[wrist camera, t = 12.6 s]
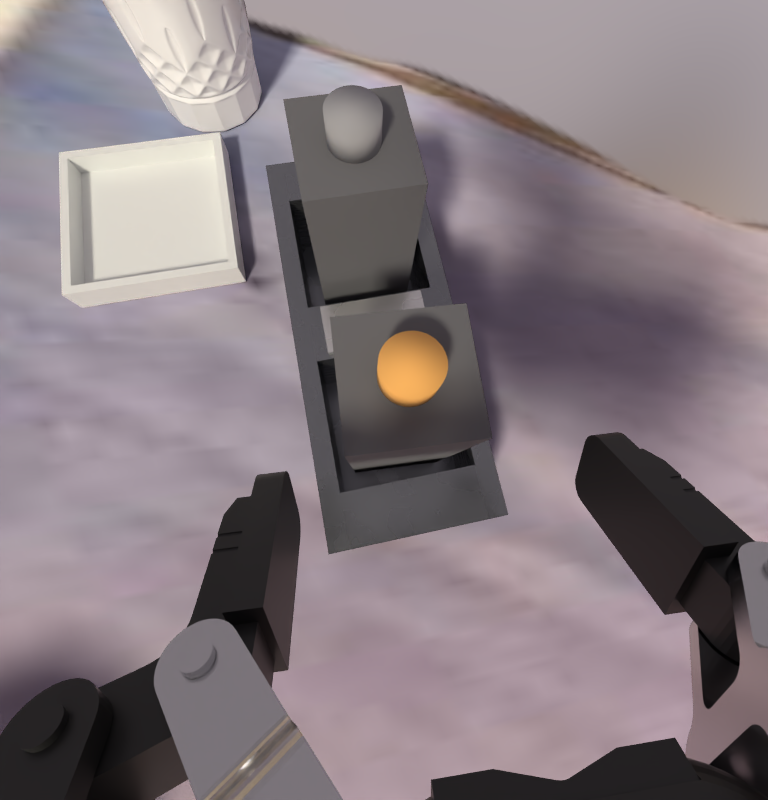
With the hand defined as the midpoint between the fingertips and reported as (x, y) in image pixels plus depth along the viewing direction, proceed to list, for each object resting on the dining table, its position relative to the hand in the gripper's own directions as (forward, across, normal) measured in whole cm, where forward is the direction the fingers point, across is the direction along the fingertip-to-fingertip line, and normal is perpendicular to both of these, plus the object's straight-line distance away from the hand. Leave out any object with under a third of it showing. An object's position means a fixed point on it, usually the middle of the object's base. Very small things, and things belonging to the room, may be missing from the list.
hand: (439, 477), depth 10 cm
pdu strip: (+14, +1, +3) cm, 14 cm away
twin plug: (+16, +1, -1) cm, 16 cm away
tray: (+21, +14, -5) cm, 26 cm away
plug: (+10, 0, +5) cm, 11 cm away
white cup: (+29, +10, -12) cm, 33 cm away
